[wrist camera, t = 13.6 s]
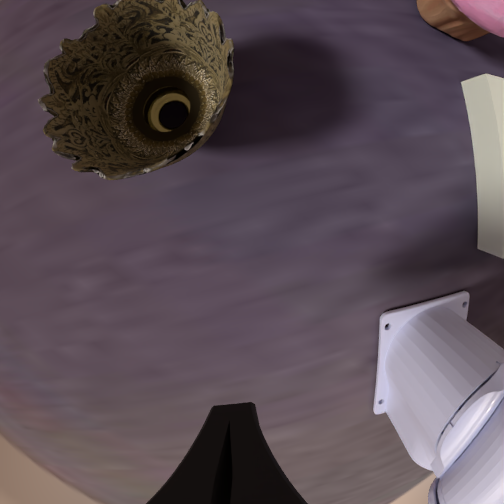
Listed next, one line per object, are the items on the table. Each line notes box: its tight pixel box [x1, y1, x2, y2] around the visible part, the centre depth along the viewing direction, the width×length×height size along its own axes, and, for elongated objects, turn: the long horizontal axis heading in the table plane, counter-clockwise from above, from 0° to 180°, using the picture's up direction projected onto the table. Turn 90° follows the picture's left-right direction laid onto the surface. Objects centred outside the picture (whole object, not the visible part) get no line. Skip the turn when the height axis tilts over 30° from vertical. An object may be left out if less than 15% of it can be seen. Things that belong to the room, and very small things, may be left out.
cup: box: [38, 0, 234, 180], centre depth 12 cm, size 8×7×8 cm
